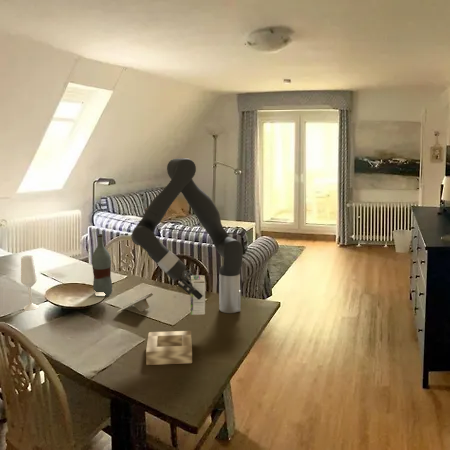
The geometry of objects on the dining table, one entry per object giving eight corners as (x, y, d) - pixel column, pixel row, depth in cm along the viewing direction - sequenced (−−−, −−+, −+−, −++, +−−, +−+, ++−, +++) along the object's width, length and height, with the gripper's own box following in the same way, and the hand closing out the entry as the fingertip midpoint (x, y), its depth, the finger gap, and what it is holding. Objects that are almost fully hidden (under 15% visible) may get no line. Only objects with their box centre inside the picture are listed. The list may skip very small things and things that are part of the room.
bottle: (112, 296, 237) (109, 236, 230) (93, 298, 235) (89, 237, 229) (112, 290, 246) (109, 232, 239) (94, 291, 244) (90, 232, 237)
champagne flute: (41, 304, 227) (37, 254, 221) (36, 310, 220) (31, 258, 215) (26, 304, 226) (22, 254, 221) (21, 310, 220) (16, 258, 215)
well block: (191, 342, 189) (191, 330, 188) (192, 363, 173) (191, 350, 172) (149, 344, 187) (148, 332, 186) (146, 364, 172) (146, 351, 171)
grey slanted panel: (127, 328, 211) (153, 306, 209) (114, 312, 211) (140, 291, 209) (138, 318, 227) (162, 298, 226) (126, 304, 228) (150, 284, 226)
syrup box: (190, 309, 196) (189, 275, 193) (205, 309, 197) (204, 274, 193) (190, 315, 191) (190, 279, 187) (205, 314, 191) (205, 279, 188)
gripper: (174, 264, 183) (206, 295, 184) (181, 253, 197) (210, 282, 198) (161, 277, 184) (192, 307, 186) (168, 265, 198) (198, 294, 200)
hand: (202, 294), depth 192 cm, fingers closed on syrup box, 6 cm apart
